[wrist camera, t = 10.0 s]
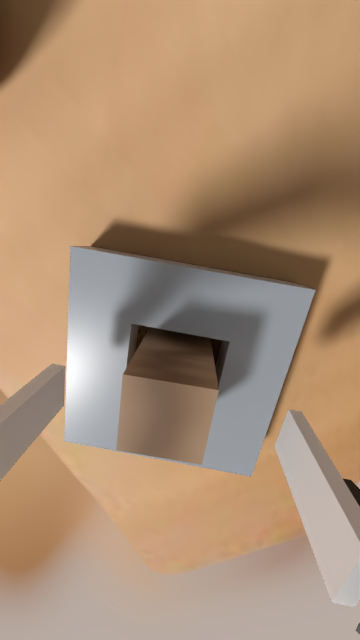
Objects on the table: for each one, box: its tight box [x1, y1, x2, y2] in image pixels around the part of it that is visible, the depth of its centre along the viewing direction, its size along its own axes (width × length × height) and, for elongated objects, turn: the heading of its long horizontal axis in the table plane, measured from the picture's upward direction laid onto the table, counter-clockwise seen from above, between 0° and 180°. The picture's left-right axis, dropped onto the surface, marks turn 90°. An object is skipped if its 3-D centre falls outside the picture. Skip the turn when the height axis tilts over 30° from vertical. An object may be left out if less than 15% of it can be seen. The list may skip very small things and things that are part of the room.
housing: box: [65, 246, 315, 477], centre depth 19 cm, size 16×16×3 cm
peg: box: [116, 327, 219, 465], centre depth 17 cm, size 5×5×8 cm
